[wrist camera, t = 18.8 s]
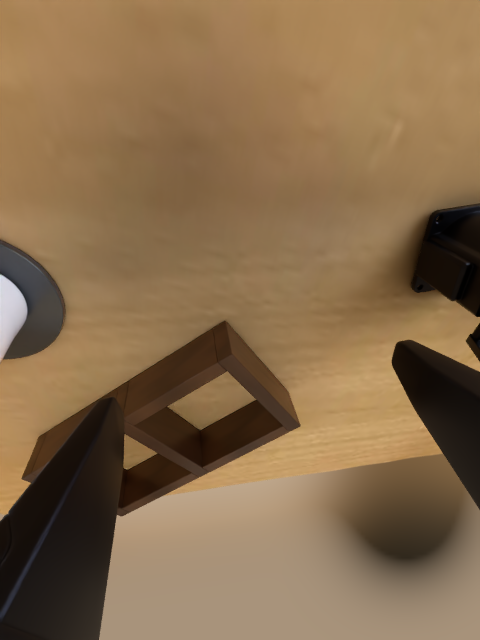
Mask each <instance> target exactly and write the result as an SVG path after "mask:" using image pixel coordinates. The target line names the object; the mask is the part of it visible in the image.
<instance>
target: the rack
mask: <svg viewBox="0 0 480 640" xmlns="http://www.w3.org/2000/svg"><path fill="white" fill-rule="evenodd" d="M226 371H228V372H229V373H230V374H231V375H232V376H233V377H234V378H235V379H236V380H237V381H238V382H239V383H240V384H241V385H242V386H243V387H244V388H245V389H246V390H247V391H248V392H249V393H250V394H251V395H252V396H253V397H254V398H255V399H256V401H254V402H253V403H251V404H249V405H247V406H245V407H243V408H242V409H240V410H238V411H236V412H234V413H232V414H231V415H229V416H227V417H225V418H223V419H221V420H220V421H218V422H216V423H214V424H212V425H210V426H209V427H207V428H205V429H203V430H201V431H199V430H198V429H196V428H195V427H193V426H192V425H191V424H189V423H188V422H186V421H185V420H184V419H182V418H181V417H179V416H178V415H177V414H175V413H174V412H172V411H171V410H170V409H168V408H167V406H168V405H170V404H172V403H173V402H175V401H177V400H179V399H180V398H182V397H184V396H186V395H187V394H189V393H191V392H192V391H194V390H196V389H198V388H199V387H201V386H203V385H204V384H206V383H208V382H210V381H211V380H213V379H215V378H216V377H218V376H220V375H222V374H223V373H225V372H226ZM111 396H113V397H115V398H116V400H117V402H118V404H119V405H120V407H121V409H122V411H123V413H124V419H125V423H124V434H126V435H128V436H129V437H131V438H133V439H135V440H136V441H138V442H140V443H141V444H143V445H145V446H147V447H148V448H150V449H152V450H154V451H155V452H157V453H159V454H157V455H155V456H154V457H152V458H150V459H148V460H146V461H144V462H143V463H141V464H139V465H137V466H135V467H133V468H132V469H130V470H128V471H127V470H125V469H123V473H122V481H121V488H120V495H119V502H118V509H117V515H119V516H124V515H126V514H127V513H130V512H131V511H134V510H136V509H138V508H139V507H142V506H143V505H146V504H147V503H149V502H151V501H153V500H155V499H157V498H159V497H161V496H163V495H165V494H167V493H169V492H171V491H173V490H175V489H177V488H179V487H181V486H183V485H185V484H187V483H189V482H191V481H193V480H195V479H197V478H199V477H201V476H203V475H205V474H207V473H209V472H211V471H213V470H215V469H217V468H219V467H221V466H223V465H225V464H227V463H229V462H231V461H233V460H235V459H237V458H239V457H241V456H243V455H245V454H247V453H249V452H251V451H253V450H254V449H256V448H258V447H260V446H262V445H264V444H266V443H268V442H270V441H272V440H274V439H276V438H278V437H280V436H282V435H284V434H286V433H288V432H290V431H292V430H294V429H296V428H298V427H300V423H299V420H298V417H297V414H296V412H295V409H294V406H293V403H292V401H291V398H290V395H289V393H288V391H287V390H286V389H285V388H284V387H283V385H282V384H281V383H280V382H279V381H278V380H277V379H276V378H275V376H274V375H273V374H272V373H271V372H270V371H269V370H268V368H267V367H266V366H265V365H264V364H263V363H262V362H261V361H260V359H259V358H258V357H257V356H256V355H255V354H254V353H253V351H252V350H251V349H250V348H249V347H248V346H247V345H246V344H245V342H244V341H243V340H242V339H241V338H240V337H239V336H238V334H237V333H236V332H235V331H234V330H233V329H232V328H231V327H230V325H229V324H228V323H227V322H226V321H224V322H222V323H221V324H219V325H218V326H216V327H214V328H213V329H211V330H210V331H208V332H206V333H205V334H203V335H202V336H200V337H198V338H197V339H195V340H194V341H192V342H190V343H189V344H187V345H186V346H184V347H182V348H181V349H179V350H178V351H176V352H174V353H173V354H171V355H170V356H168V357H166V358H165V359H163V360H162V361H160V362H158V363H157V364H155V365H154V366H152V367H150V368H149V369H147V370H146V371H144V372H142V373H141V374H139V375H138V376H136V377H134V378H133V379H131V380H130V381H128V382H126V383H125V384H123V385H122V386H120V387H118V388H117V389H115V390H113V391H112V392H110V393H109V394H107V395H105V396H104V397H102V398H105V397H111ZM97 401H98V400H97ZM97 401H96V402H97ZM96 402H94V403H93V404H91V405H89V406H88V407H86V408H85V409H83V410H81V411H80V412H78V413H77V414H75V415H73V416H72V417H70V418H69V419H67V420H65V421H64V422H62V423H61V424H59V425H57V426H56V427H54V428H53V429H51V430H49V431H48V432H46V433H45V434H43V435H41V436H40V437H39V438H38V441H37V443H36V445H35V448H34V450H33V452H32V455H31V457H30V460H29V462H28V464H27V467H26V469H25V471H24V474H23V476H22V480H25V481H28V482H30V483H32V482H33V480H34V479H35V478H36V477H37V475H38V474H39V473H40V472H41V471H42V469H43V468H44V467H45V466H46V464H47V463H48V462H49V461H50V459H51V458H52V457H53V456H54V454H55V453H56V452H57V451H58V449H59V448H60V447H61V446H62V445H63V443H64V442H65V441H66V440H67V438H68V437H69V436H70V435H71V433H72V432H73V431H74V430H75V428H76V427H77V426H78V425H79V423H80V422H81V421H82V420H83V419H84V417H85V416H86V415H87V414H88V412H89V411H90V410H91V409H92V407H93V406H94V405H95V404H96Z"/></svg>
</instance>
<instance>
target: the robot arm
mask: <svg viewBox="0 0 480 640" xmlns="http://www.w3.org/2000/svg"><path fill="white" fill-rule="evenodd" d="M438 216H439V218H438V219H437V217H438ZM436 219H437V220H436ZM419 285H420V286H419ZM418 286H419V287H418ZM411 288H412V290H413V291H415V292H416V293H420V292H426V291H431V290H437V291H439V292H440V293H441V294H443V295H444V296H445V297H447V298H448V299H449V300H451V301H456V302H457V303H459V304H460V305H461V306H463V307H464V308H465V309H467V310H468V311H470V312H471V313H472V314H474V315H475V316H476V317H480V204H473V205H467V206H461V207H455V208H449V209H442V210H437V211H435V212H433V213H432V214H431V215H430V218H429V221H428V224H427V228H426V232H425V236H424V240H423V244H422V247H421V251H420V255H419V259H418V263H417V267H416V270H415V274H414V278H413V282H412V286H411ZM466 342H467V344H468V345H469V347H470V348H471V350H472V351H473V352H474V354H475V355H476V357H477V358H478V360H479V361H480V323H479V325H478V326H477V327H476V329H475V330H474V332H473V333H472V334H470V335H469V337H468V338H467V340H466ZM392 366H393V368H394V370H395V372H396V374H397V376H398V378H399V380H400V382H401V384H402V386H403V388H404V390H405V392H406V394H407V396H408V398H409V400H410V402H411V404H412V405H413V407H414V409H415V411H416V412H417V414H418V415H419V417H420V418H421V420H422V422H423V423H424V425H425V426H426V428H427V429H428V431H429V432H430V434H431V435H432V437H433V438H434V440H435V442H436V443H437V445H438V446H439V448H440V449H441V451H442V452H443V454H444V455H445V457H446V458H447V460H448V462H449V463H450V465H451V466H452V468H453V469H454V471H455V472H456V474H457V475H458V477H459V478H460V480H461V482H462V483H463V485H464V486H465V488H466V489H467V491H468V492H469V494H470V495H471V497H472V499H473V500H474V502H475V503H476V505H477V506H478V508H479V509H480V372H479V371H476V370H474V369H472V368H470V367H468V366H466V365H464V364H462V363H459V362H457V361H455V360H453V359H451V358H449V357H447V356H445V355H442V354H440V353H438V352H436V351H434V350H432V349H430V348H427V347H425V346H423V345H421V344H419V343H417V342H415V341H412V340H405V341H399V342H397V344H396V346H395V349H394V353H393V357H392ZM124 423H125V419H124V413H123V411H122V409H121V407H120V405H119V404H118V402H117V400H116V398H115V397H113V396H111V397H105V398H101V399H99V400H98V401H97V402H96V404H95V405H94V406H93V407H92V409H91V410H90V411H89V412H88V414H87V415H86V416H85V417H84V419H83V420H82V421H81V422H80V423H79V425H78V426H77V427H76V428H75V430H74V431H73V432H72V433H71V435H70V436H69V437H68V438H67V440H66V441H65V442H64V443H63V445H62V446H61V447H60V448H59V449H58V451H57V452H56V453H55V454H54V456H53V457H52V458H51V459H50V461H49V462H48V463H47V464H46V466H45V467H44V468H43V469H42V471H41V472H40V473H39V474H38V475H37V477H36V478H35V479H34V480H33V482H32V483H31V484H30V485H29V487H28V488H27V489H26V490H25V492H24V493H23V494H22V495H21V497H20V498H19V499H18V500H17V501H16V503H15V504H14V505H13V506H12V508H11V509H10V510H9V512H8V514H6V515H5V516H4V517H3V519H2V520H1V521H0V640H99V635H100V628H101V620H102V614H103V607H104V600H105V593H106V586H107V579H108V572H109V565H110V558H111V550H112V544H113V537H114V530H115V523H116V516H117V509H118V502H119V495H120V488H121V481H122V473H123V460H124Z"/></svg>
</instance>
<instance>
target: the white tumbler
mask: <svg viewBox="0 0 480 640" xmlns="http://www.w3.org/2000/svg"><path fill="white" fill-rule="evenodd" d="M26 318H27V304H26V301H25V298H24V296H23V294H22V293H21V291H20V290H19V289H18V288H17V287H16V286H15V285H14V284H13V283H12V282H11V281H10V280H9V279H7V278H6V277H4V276H3V275H1V274H0V364H1V362H2V360H3V358H4V356H5V354H6V352H7V350H8V349H9V347H10V345H11V343H12V341H13V339H14V338H15V336H16V335H17V334H18V332H19V331H20V329H21V328H22V326H23V325H24V323H25V321H26Z"/></svg>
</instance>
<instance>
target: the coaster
mask: <svg viewBox="0 0 480 640" xmlns="http://www.w3.org/2000/svg"><path fill="white" fill-rule="evenodd" d="M0 274H1V275H3V276H4V277H6V278H7V279H9V280H10V281H11V282H12V283H13V284H14V285H15V286H16V287H17V288H18V289H19V290H20V291H21V293H22V294H23V296H24V298H25V301H26V304H27V318H26V321H25V323H24V325H23V326H22V328H21V329H20V331H19V332H18V334H17V335H16V336H15V338H14V339H13V341H12V343H11V345H10V347H9V349H8V350H7V352H6V354H5V356H4V358H3V359H16V358H22V357H26V356H30V355H33V354H36V353H38V352H40V351H42V350H44V349H45V348H46V347H48V346H49V345H50V344H51V343H53V342H54V341H55V339H56V338H57V336H58V335H59V333H60V331H61V329H62V327H63V324H64V320H65V305H64V301H63V297H62V295H61V293H60V290H59V288H58V287H57V285H56V283H55V282H54V280H53V279H52V278H51V276H50V275H49V274H48V273H47V272H46V271H45V270H44V269H43V268H42V266H41V265H39V264H38V263H37V262H36V261H35V260H33V259H32V258H31V257H30V256H28V255H27V254H25V253H24V252H22V251H21V250H19V249H17V248H15V247H14V246H12V245H10V244H8V243H6V242H3V241H1V240H0Z"/></svg>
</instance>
